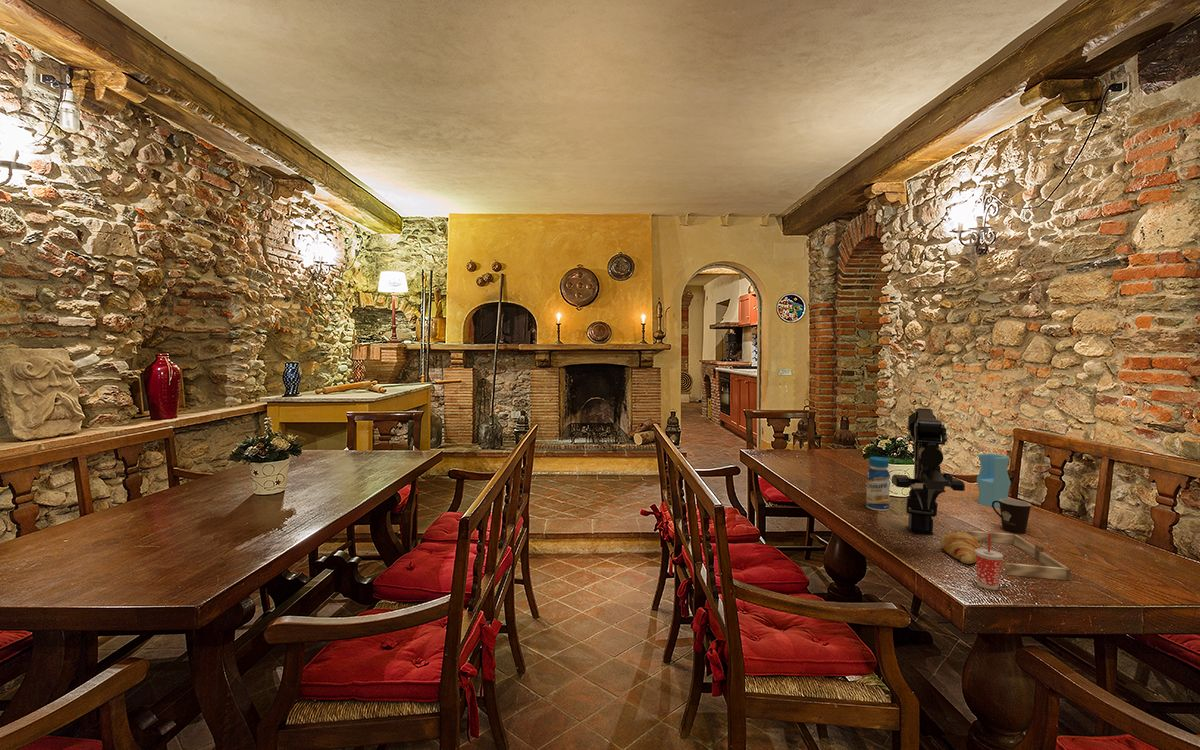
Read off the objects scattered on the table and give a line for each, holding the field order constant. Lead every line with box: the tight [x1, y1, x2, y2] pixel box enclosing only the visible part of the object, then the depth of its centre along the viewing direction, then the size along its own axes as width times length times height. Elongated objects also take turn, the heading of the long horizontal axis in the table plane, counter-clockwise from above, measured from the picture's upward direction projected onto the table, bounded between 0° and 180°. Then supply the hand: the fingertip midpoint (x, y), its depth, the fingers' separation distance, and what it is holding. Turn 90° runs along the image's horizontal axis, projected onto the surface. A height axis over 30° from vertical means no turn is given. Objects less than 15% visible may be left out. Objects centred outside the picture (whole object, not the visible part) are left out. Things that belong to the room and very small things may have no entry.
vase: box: [976, 453, 1012, 509], centre depth 212 cm, size 8×8×20 cm
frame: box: [963, 530, 1072, 581], centre depth 158 cm, size 15×28×4 cm, turn 166°
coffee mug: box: [991, 498, 1032, 535], centre depth 183 cm, size 12×9×10 cm
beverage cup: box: [975, 534, 1004, 591], centre depth 139 cm, size 6×6×14 cm
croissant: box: [939, 531, 981, 565], centre depth 161 cm, size 21×10×8 cm, turn 156°
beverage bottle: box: [865, 456, 891, 512], centre depth 206 cm, size 8×8×20 cm
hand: (926, 509), depth 163 cm, fingers closed
